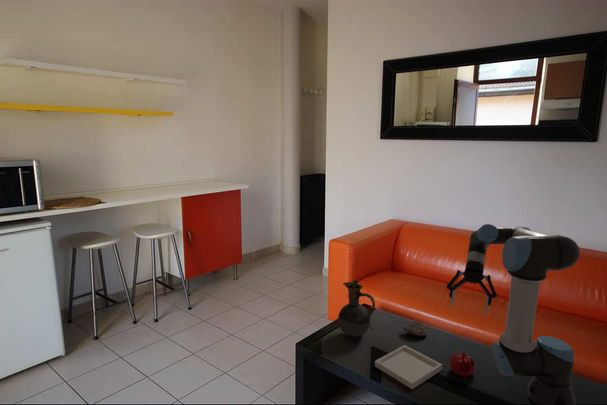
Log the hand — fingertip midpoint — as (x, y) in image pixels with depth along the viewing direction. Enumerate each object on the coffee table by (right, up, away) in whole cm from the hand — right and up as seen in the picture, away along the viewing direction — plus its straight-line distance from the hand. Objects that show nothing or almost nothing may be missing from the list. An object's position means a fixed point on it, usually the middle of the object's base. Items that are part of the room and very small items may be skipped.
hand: (468, 308), depth 165 cm
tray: (-25, -26, +1) cm, 36 cm away
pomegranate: (-4, -26, -2) cm, 27 cm away
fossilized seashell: (-15, -21, +29) cm, 39 cm away
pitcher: (-44, -22, +27) cm, 56 cm away
